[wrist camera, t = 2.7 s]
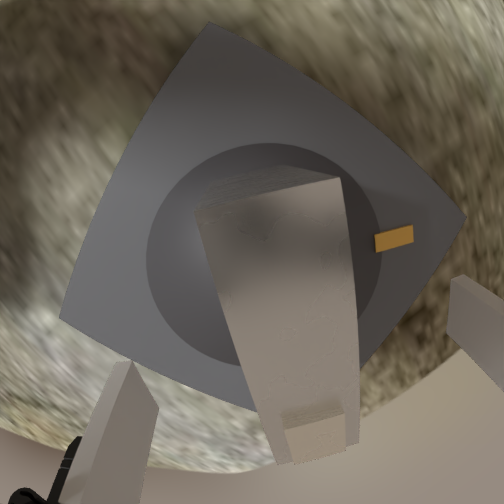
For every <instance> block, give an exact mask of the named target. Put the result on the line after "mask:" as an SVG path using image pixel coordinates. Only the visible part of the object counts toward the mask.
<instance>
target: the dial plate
mask: <svg viewBox="0 0 504 504" xmlns="http://www.w3.org/2000/svg"><path fill="white" fill-rule="evenodd" d="M278 165H287V166H292V167H297V168H301V169H306V170H311V171H315V172H320V173H324V174H328V175H333V176H337V177H340V180H341V186H342V192H343V198H344V204H345V211H346V217H347V224H348V232H349V239H350V247H351V256H352V265H353V274H354V284H355V296H356V308H357V323H358V341H359V368H361V367H362V366H363V365H364V364H365V363H366V361H367V360H368V359H369V358H370V357H371V356H372V354H373V353H374V352H375V351H376V350H377V348H378V347H379V346H380V345H381V344H382V342H383V341H384V340H385V339H386V337H387V336H388V335H389V334H390V332H391V331H392V330H393V329H394V327H395V326H396V325H397V324H398V322H399V321H400V320H401V318H402V317H403V316H404V314H405V313H406V312H407V310H408V309H409V308H410V306H411V305H412V303H413V302H414V301H415V299H416V298H417V297H418V295H419V294H420V292H421V291H422V289H423V288H424V286H425V285H426V284H427V282H428V281H429V279H430V278H431V276H432V275H433V273H434V272H435V270H436V268H437V267H438V265H439V264H440V262H441V261H442V259H443V257H444V256H445V254H446V253H447V251H448V249H449V248H450V246H451V244H452V243H453V241H454V239H455V238H456V236H457V234H458V232H459V231H460V229H461V227H462V225H463V223H464V222H465V220H466V218H467V217H466V216H465V214H464V213H463V212H462V211H461V210H460V209H459V208H458V206H457V205H456V204H455V203H454V202H453V201H452V200H451V199H450V197H449V196H448V195H447V194H446V193H445V192H444V191H443V190H442V189H441V188H440V187H439V186H438V185H437V184H436V182H435V181H434V180H433V179H432V178H431V177H430V176H429V175H428V174H427V173H426V172H425V171H424V170H423V169H422V168H421V167H420V166H419V165H418V164H417V163H416V162H414V161H413V160H412V159H411V158H410V157H409V156H408V155H407V154H406V153H405V152H404V151H403V150H402V149H401V148H399V147H398V146H397V145H396V144H395V143H394V142H393V141H392V140H390V139H389V138H388V137H387V136H386V135H385V134H384V133H382V132H381V131H380V130H379V129H378V128H377V127H375V126H374V125H373V124H372V123H370V122H369V121H368V120H367V119H366V118H364V117H363V116H362V115H361V114H359V113H358V112H357V111H355V110H354V109H353V108H352V107H350V106H349V105H348V104H346V103H345V102H344V101H342V100H341V99H340V98H338V97H337V96H336V95H334V94H333V93H331V92H330V91H329V90H327V89H326V88H324V87H323V86H321V85H320V84H319V83H317V82H316V81H314V80H313V79H311V78H310V77H308V76H307V75H305V74H304V73H302V72H300V71H299V70H297V69H296V68H294V67H293V66H291V65H289V64H288V63H286V62H285V61H283V60H281V59H280V58H278V57H276V56H274V55H273V54H271V53H269V52H268V51H266V50H264V49H262V48H261V47H259V46H257V45H255V44H253V43H251V42H250V41H248V40H246V39H244V38H242V37H240V36H238V35H236V34H234V33H232V32H230V31H228V30H226V29H224V28H222V27H220V26H218V25H216V24H213V23H211V22H209V23H208V24H207V25H206V26H205V28H204V29H203V30H202V31H201V33H200V34H199V35H198V36H197V38H196V39H195V40H194V42H193V43H192V44H191V46H190V47H189V48H188V50H187V51H186V53H185V54H184V55H183V57H182V58H181V59H180V61H179V62H178V64H177V65H176V67H175V68H174V69H173V71H172V72H171V74H170V75H169V77H168V78H167V80H166V81H165V83H164V84H163V86H162V87H161V89H160V91H159V92H158V94H157V95H156V97H155V98H154V100H153V102H152V103H151V105H150V107H149V108H148V110H147V112H146V113H145V115H144V117H143V118H142V120H141V122H140V124H139V125H138V127H137V129H136V131H135V132H134V134H133V136H132V138H131V140H130V141H129V143H128V145H127V147H126V149H125V151H124V153H123V155H122V157H121V159H120V161H119V163H118V164H117V166H116V169H115V171H114V173H113V175H112V177H111V179H110V181H109V183H108V185H107V187H106V189H105V192H104V194H103V196H102V198H101V201H100V203H99V205H98V207H97V210H96V212H95V214H94V217H93V219H92V222H91V224H90V227H89V229H88V232H87V234H86V237H85V239H84V242H83V245H82V247H81V250H80V253H79V255H78V258H77V261H76V264H75V267H74V270H73V273H72V276H71V279H70V282H69V285H68V288H67V291H66V295H65V298H64V302H63V305H62V309H61V312H60V316H59V318H60V319H61V320H63V321H64V322H66V323H68V324H69V325H71V326H72V327H74V328H76V329H77V330H79V331H80V332H82V333H84V334H86V335H87V336H89V337H91V338H92V339H94V340H96V341H98V342H99V343H101V344H103V345H105V346H106V347H108V348H110V349H112V350H114V351H116V352H117V353H119V354H121V355H123V356H125V357H127V358H129V359H131V360H133V361H135V362H137V363H139V364H141V365H143V366H145V367H147V368H149V369H151V370H153V371H155V372H157V373H159V374H161V375H164V376H166V377H168V378H170V379H172V380H175V381H177V382H179V383H181V384H184V385H186V386H188V387H191V388H193V389H196V390H198V391H200V392H203V393H205V394H208V395H210V396H213V397H216V398H218V399H221V400H223V401H226V402H229V403H232V404H234V405H237V406H240V407H243V408H246V409H249V410H251V411H254V412H257V410H256V407H255V404H254V401H253V399H252V396H251V393H250V390H249V387H248V384H247V381H246V379H245V376H244V373H243V370H242V367H241V364H240V361H239V358H238V355H237V352H236V349H235V346H234V343H233V340H232V337H231V334H230V331H229V328H228V325H227V322H226V319H225V315H224V312H223V309H222V306H221V303H220V300H219V296H218V293H217V290H216V287H215V283H214V280H213V277H212V274H211V270H210V267H209V264H208V260H207V257H206V253H205V250H204V247H203V243H202V240H201V236H200V233H199V229H198V226H197V222H196V219H195V215H194V210H195V208H196V206H197V204H198V203H199V201H200V199H201V198H202V196H203V194H204V193H205V191H206V189H207V188H208V186H209V184H210V183H211V181H215V180H219V179H222V178H226V177H230V176H235V175H239V174H243V173H247V172H251V171H256V170H260V169H264V168H269V167H273V166H278ZM257 413H258V412H257Z"/></svg>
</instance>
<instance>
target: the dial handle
mask: <svg viewBox="0 0 504 504" xmlns="http://www.w3.org/2000/svg"><path fill="white" fill-rule="evenodd" d="M194 215H195V219H196V222H197V226H198V229H199V233H200V236H201V240H202V243H203V247H204V250H205V253H206V257H207V260H208V264H209V267H210V270H211V274H212V277H213V280H214V283H215V287H216V290H217V293H218V296H219V300H220V303H221V306H222V309H223V312H224V315H225V319H226V322H227V325H228V328H229V331H230V334H231V337H232V340H233V343H234V346H235V349H236V352H237V355H238V358H239V361H240V364H241V367H242V370H243V373H244V376H245V379H246V381H247V384H248V387H249V390H250V393H251V396H252V399H253V401H254V404H255V407H256V410H257V412H258V415H259V418H260V421H261V423H262V426H263V429H264V431H265V434H266V437H267V439H268V442H269V445H270V447H271V450H272V453H273V455H274V458H275V460H276V463H277V465H279V464H284V463H289V462H294V464H299V463H304V462H308V461H311V460H315V459H319V458H323V457H326V456H330V455H333V454H336V453H340V452H343V451H346V447H347V446H350V445H353V444H356V443H359V428H360V424H359V423H360V368H359V341H358V323H357V308H356V296H355V284H354V274H353V265H352V256H351V247H350V239H349V232H348V224H347V217H346V211H345V204H344V198H343V192H342V186H341V180H340V177H337V176H333V175H328V174H324V173H320V172H315V171H311V170H306V169H301V168H297V167H292V166H287V165H278V166H273V167H269V168H264V169H260V170H256V171H251V172H247V173H243V174H239V175H235V176H230V177H226V178H222V179H219V180H215V181H211V183H210V184H209V186H208V188H207V189H206V191H205V193H204V194H203V196H202V198H201V199H200V201H199V203H198V204H197V206H196V208H195V210H194Z"/></svg>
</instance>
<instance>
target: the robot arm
mask: <svg viewBox="0 0 504 504" xmlns="http://www.w3.org/2000/svg"><path fill="white" fill-rule="evenodd" d="M446 333H447V334H448V335H449V336H450V337H451V338H452V339H453V340H454V341H455V342H456V343H457V344H458V345H459V346H460V347H461V348H462V349H463V350H464V351H465V352H466V353H467V354H468V355H469V356H470V357H471V358H472V359H473V360H474V361H475V362H476V363H477V364H478V365H479V366H480V367H481V368H482V369H483V371H485V373H486V374H487V375H488V376H489V377H490V378H491V379H492V380H493V381H494V382H495V383H496V384H497V385H498V386H499V387H500V388H501V390H502V391H503V392H504V300H502V299H501V298H500V297H498V296H497V295H495V294H494V293H492V292H491V291H489V290H488V289H486V288H484V287H483V286H481V285H480V284H478V283H477V282H475V281H474V280H472V279H471V278H469V277H467V276H466V275H464V274H462V275H460V276H457V277H455V278H452V279H451V284H450V299H449V310H448V320H447V328H446ZM158 411H159V407H158V405H157V404H156V402H155V400H154V399H153V397H152V395H151V393H150V392H149V390H148V388H147V386H146V385H145V383H144V381H143V379H142V378H141V376H140V374H139V372H138V370H137V368H136V367H135V365H134V363H133V361H132V360H131V361H123V362H116V364H115V366H114V368H113V370H112V372H111V374H110V376H109V378H108V380H107V383H106V385H105V387H104V389H103V391H102V393H101V396H100V398H99V400H98V402H97V405H96V407H95V409H94V411H93V414H92V416H91V418H90V421H89V423H88V425H87V428H86V430H85V432H84V435H83V437H81V436H77V437H76V438H75V439H74V440H73V442H72V443H71V444H70V445H69V446H68V449H67V451H66V453H65V456H64V460H63V461H62V463H61V466H60V467H61V468H60V469H59V470H58V473H57V475H56V478H55V480H54V483H53V486H52V489H51V491H50V494H49V496H48V499H47V501H46V500H44V499H43V498H42V497H41V496H39V495H38V494H37V493H36V492H35V491H33V490H32V489H30V488H20V489H18V490H17V491H15V492H14V493H13V494H12V496H11V497H10V499H9V502H8V504H139V502H140V497H141V491H142V486H143V481H144V475H145V471H146V466H147V461H148V456H149V451H150V447H151V442H152V437H153V433H154V428H155V424H156V420H157V415H158Z"/></svg>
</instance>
